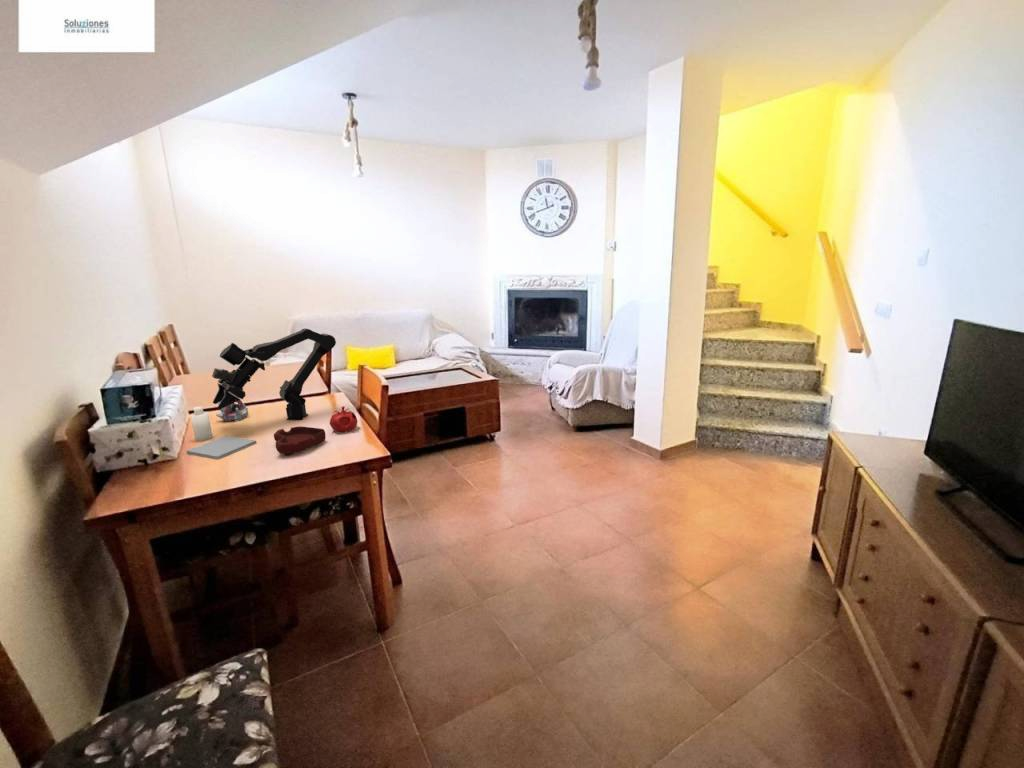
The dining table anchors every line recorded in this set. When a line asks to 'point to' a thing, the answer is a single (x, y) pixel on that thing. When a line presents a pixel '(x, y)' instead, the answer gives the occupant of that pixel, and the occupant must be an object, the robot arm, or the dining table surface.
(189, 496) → the dining table surface
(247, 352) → the robot arm
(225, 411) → the grey red pointed piece
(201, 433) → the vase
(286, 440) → the ashtray
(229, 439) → the board
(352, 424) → the pomegranate
